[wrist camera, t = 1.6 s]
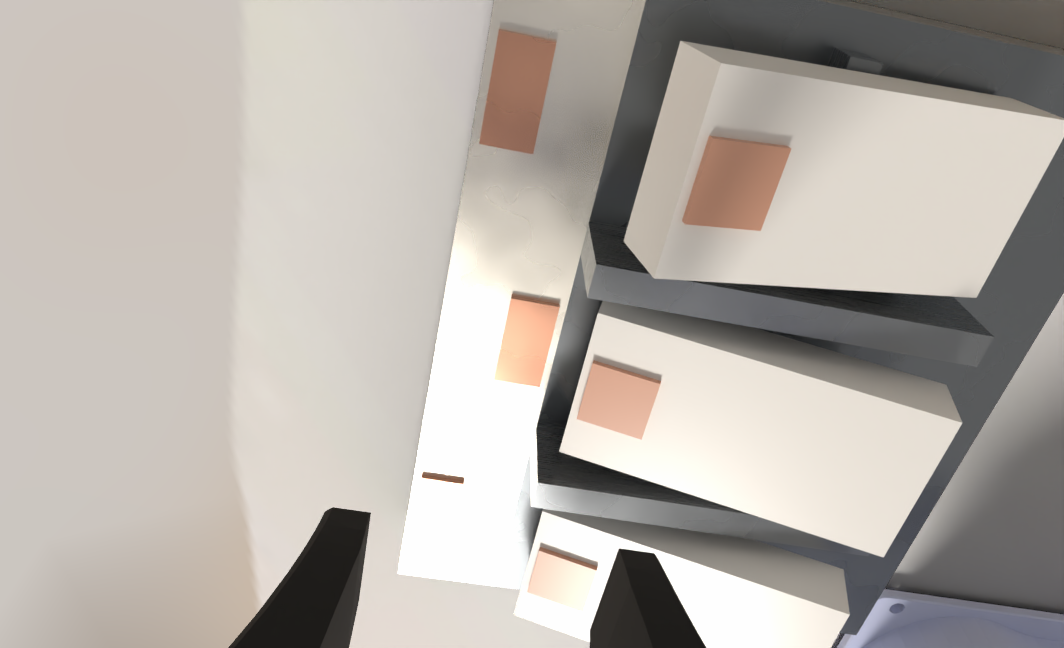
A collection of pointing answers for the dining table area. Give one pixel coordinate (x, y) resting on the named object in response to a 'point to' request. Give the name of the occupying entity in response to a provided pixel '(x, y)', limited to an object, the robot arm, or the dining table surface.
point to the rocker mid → (759, 423)
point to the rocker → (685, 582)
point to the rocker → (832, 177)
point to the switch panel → (618, 276)
